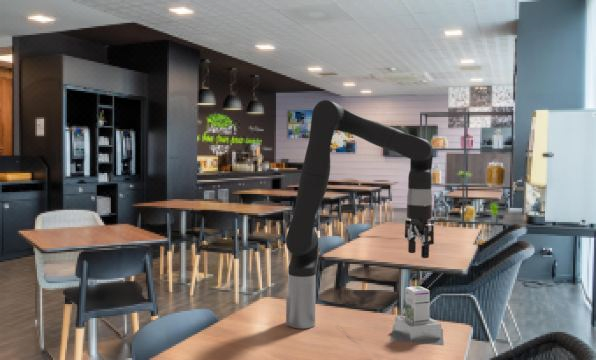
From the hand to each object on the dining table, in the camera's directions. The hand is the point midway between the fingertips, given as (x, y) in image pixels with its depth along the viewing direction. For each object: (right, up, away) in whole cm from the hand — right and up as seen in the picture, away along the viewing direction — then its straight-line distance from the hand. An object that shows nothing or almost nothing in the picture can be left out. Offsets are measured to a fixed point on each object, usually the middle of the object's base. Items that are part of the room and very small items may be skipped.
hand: (418, 255), depth 164 cm
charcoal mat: (0, -26, +1) cm, 26 cm away
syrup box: (0, -25, +1) cm, 25 cm away
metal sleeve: (0, -25, +1) cm, 25 cm away
